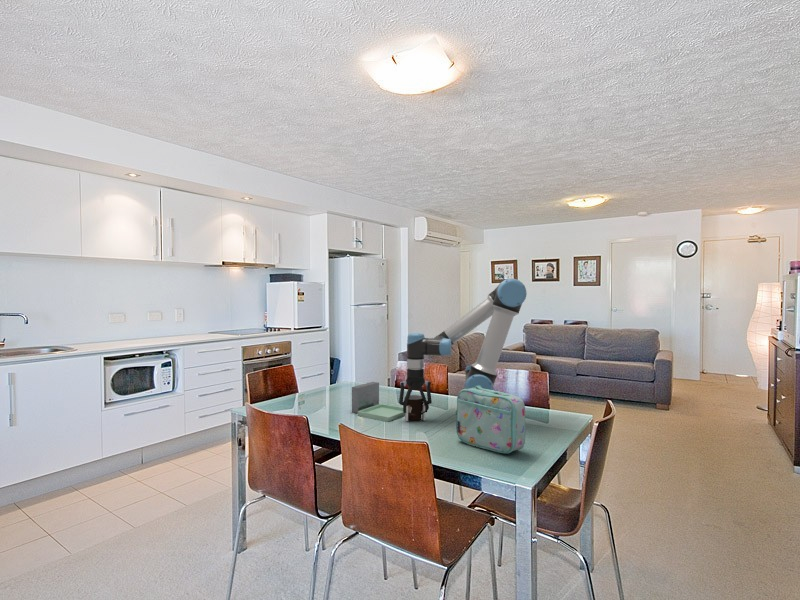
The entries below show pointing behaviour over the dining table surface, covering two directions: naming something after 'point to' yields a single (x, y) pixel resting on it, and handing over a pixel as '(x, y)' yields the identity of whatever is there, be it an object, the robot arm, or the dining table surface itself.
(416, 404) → the coffee mug
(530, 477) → the dining table surface
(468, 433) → the lunch box
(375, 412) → the tray
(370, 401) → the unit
